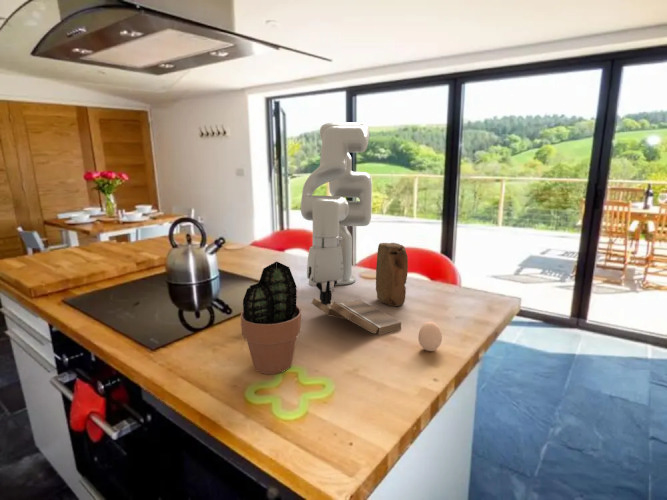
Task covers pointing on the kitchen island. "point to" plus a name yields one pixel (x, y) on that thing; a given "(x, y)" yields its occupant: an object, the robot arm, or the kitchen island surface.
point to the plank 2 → (354, 318)
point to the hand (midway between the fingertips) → (325, 302)
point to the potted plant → (271, 319)
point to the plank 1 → (327, 308)
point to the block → (391, 273)
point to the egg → (430, 336)
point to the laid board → (373, 316)
